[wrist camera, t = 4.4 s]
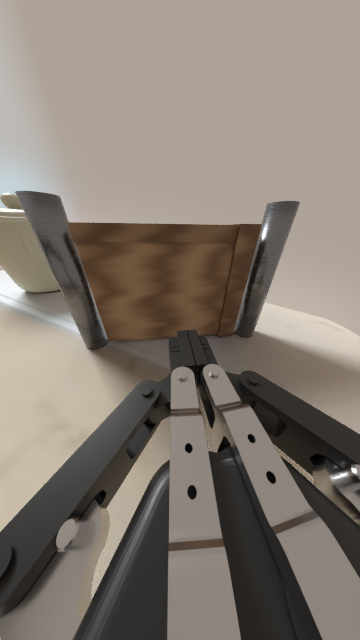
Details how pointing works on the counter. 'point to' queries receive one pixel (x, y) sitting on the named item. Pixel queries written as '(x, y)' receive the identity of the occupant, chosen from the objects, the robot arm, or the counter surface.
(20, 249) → the canister
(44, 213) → the gate posts
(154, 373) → the counter surface
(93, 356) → the counter surface
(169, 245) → the gate leaf
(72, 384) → the counter surface
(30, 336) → the counter surface
